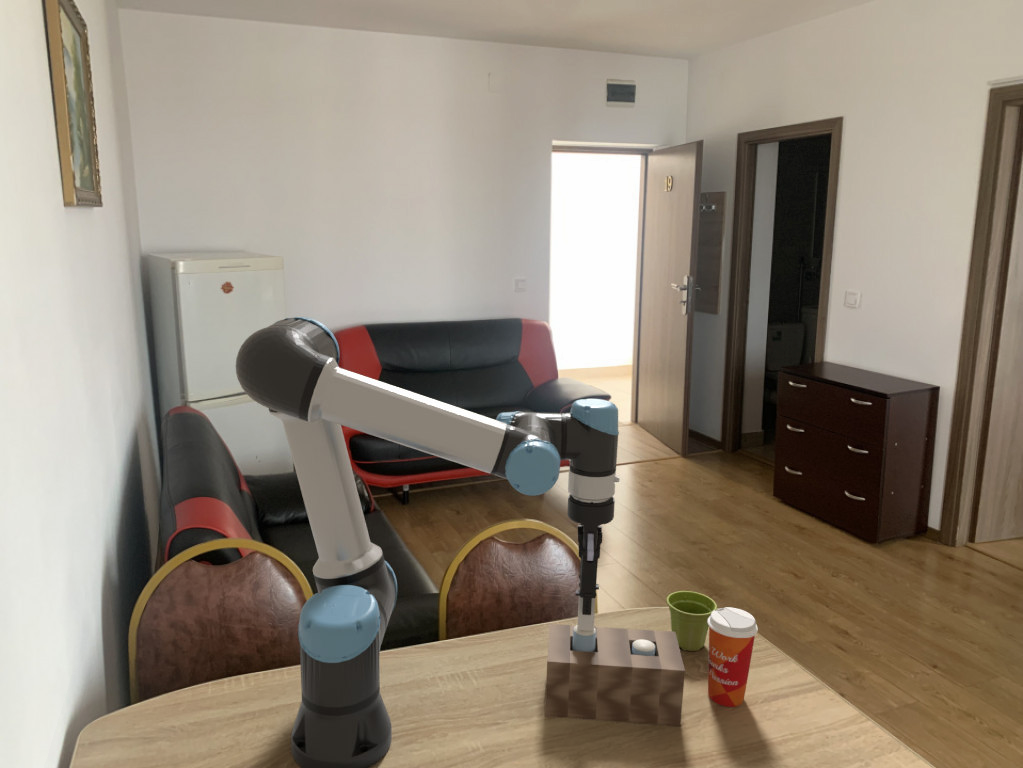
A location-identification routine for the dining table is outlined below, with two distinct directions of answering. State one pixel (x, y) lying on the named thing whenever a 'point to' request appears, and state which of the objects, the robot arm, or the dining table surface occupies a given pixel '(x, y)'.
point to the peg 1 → (583, 640)
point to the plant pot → (690, 618)
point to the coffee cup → (729, 654)
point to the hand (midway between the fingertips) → (585, 628)
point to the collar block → (615, 677)
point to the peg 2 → (643, 648)
